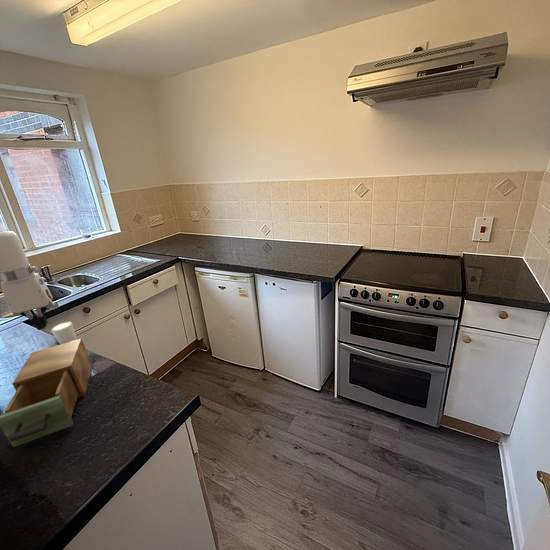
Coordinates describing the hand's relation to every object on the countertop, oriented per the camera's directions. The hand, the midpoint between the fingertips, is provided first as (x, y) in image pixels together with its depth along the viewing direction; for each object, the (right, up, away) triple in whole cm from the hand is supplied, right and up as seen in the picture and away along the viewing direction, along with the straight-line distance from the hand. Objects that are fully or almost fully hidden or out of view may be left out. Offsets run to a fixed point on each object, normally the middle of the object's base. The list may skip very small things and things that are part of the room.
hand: (42, 327), depth 94 cm
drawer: (+16, -21, -18) cm, 32 cm away
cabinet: (+10, -17, -4) cm, 20 cm away
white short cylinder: (-7, -10, +22) cm, 25 cm away
